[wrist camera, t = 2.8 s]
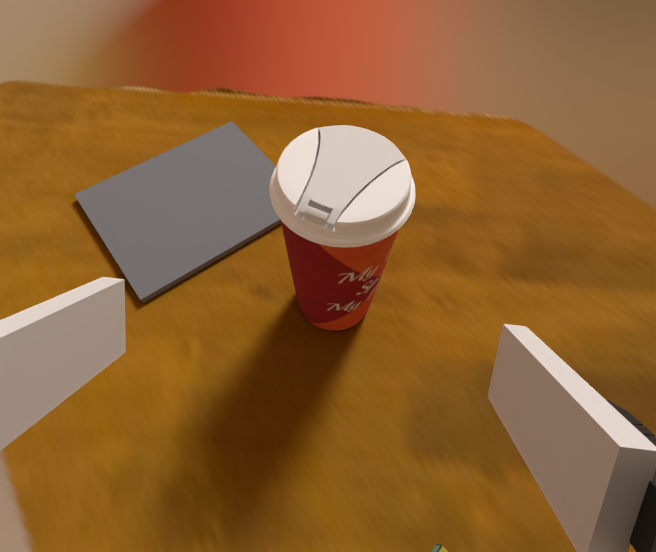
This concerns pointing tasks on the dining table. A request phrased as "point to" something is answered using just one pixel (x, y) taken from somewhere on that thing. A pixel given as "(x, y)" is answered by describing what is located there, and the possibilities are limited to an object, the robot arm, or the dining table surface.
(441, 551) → the puzzle game
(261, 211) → the mat
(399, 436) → the dining table surface
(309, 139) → the paper cup
